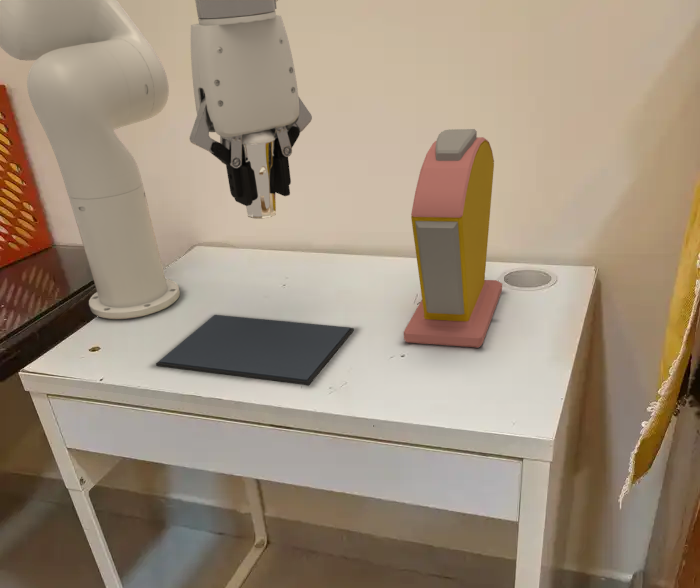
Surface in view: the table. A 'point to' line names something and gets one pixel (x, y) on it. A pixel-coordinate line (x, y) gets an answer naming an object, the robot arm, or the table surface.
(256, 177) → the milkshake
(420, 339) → the clock
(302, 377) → the mouse pad
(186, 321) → the table surface
